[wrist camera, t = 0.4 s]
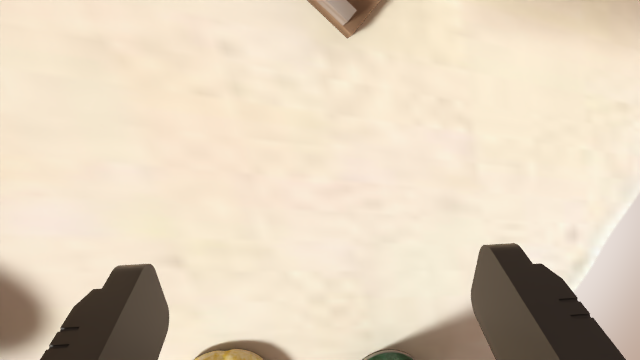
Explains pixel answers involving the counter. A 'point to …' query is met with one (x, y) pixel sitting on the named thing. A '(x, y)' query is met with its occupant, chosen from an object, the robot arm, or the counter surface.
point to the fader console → (345, 13)
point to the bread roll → (230, 355)
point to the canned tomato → (389, 355)
